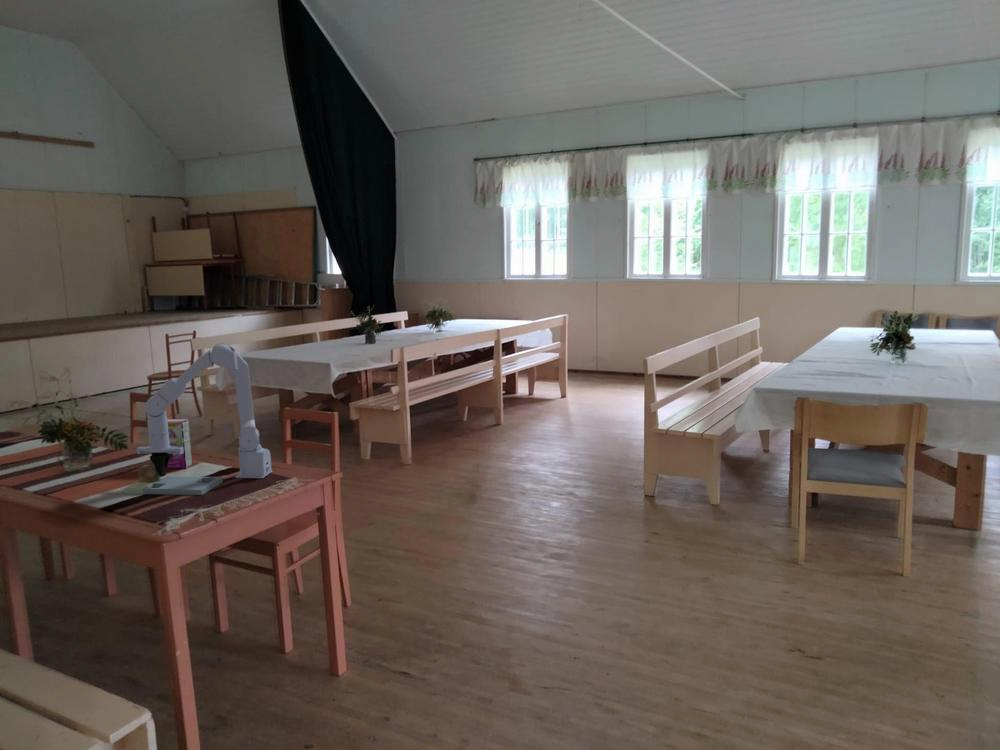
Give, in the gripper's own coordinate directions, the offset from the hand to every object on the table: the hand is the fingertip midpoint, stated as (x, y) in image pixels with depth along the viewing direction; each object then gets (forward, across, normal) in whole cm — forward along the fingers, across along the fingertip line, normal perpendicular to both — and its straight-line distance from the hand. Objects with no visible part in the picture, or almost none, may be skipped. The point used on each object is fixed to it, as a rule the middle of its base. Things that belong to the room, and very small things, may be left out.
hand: (162, 475), depth 235 cm
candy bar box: (+3, +8, -19) cm, 21 cm away
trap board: (+3, -6, +3) cm, 7 cm away
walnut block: (+1, +4, +1) cm, 4 cm away
